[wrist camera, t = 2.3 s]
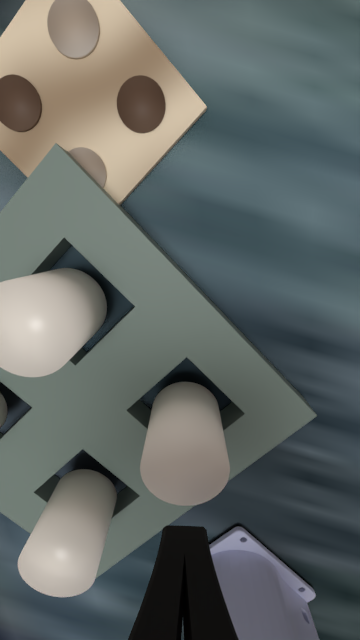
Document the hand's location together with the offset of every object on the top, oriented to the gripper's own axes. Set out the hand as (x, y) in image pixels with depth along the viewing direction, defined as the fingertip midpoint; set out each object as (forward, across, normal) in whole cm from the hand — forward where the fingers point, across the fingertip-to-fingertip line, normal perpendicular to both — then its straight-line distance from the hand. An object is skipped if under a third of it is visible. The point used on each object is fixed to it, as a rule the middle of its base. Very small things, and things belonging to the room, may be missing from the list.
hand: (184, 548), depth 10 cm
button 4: (+8, +6, -6) cm, 12 cm away
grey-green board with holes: (+10, +6, 0) cm, 12 cm away
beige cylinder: (+8, 0, 0) cm, 8 cm away
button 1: (+8, +6, +6) cm, 12 cm away
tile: (+10, +6, -16) cm, 20 cm away
